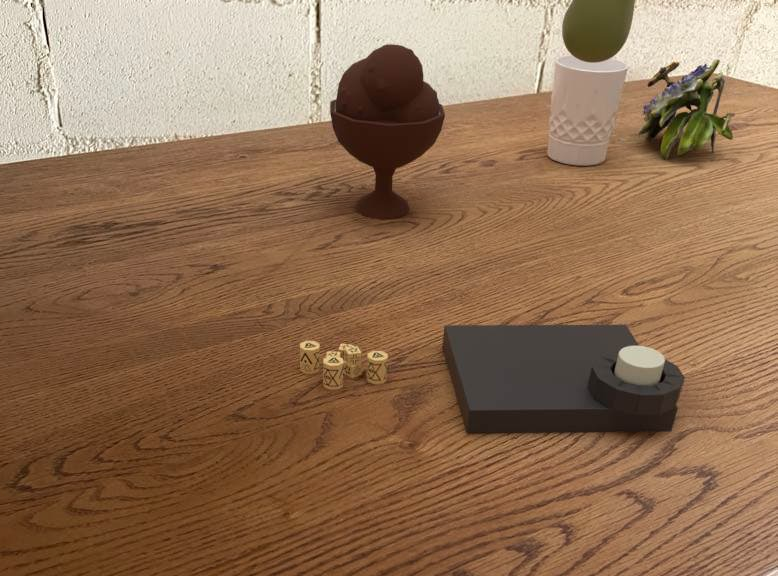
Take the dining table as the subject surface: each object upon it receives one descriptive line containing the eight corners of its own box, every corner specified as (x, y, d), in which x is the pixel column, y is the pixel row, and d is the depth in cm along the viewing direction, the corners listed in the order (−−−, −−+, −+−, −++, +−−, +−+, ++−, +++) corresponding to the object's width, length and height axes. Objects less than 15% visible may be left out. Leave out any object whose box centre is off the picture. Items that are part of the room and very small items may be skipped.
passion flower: (641, 185, 117) (654, 88, 116) (732, 183, 113) (746, 82, 112) (627, 151, 107) (641, 45, 106) (728, 148, 102) (743, 36, 102)
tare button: (651, 365, 63) (656, 345, 62) (665, 388, 61) (671, 367, 60) (608, 365, 63) (613, 345, 62) (621, 388, 61) (626, 367, 60)
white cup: (527, 154, 108) (540, 59, 101) (570, 142, 112) (585, 50, 105) (581, 172, 103) (598, 75, 97) (623, 159, 107) (642, 65, 101)
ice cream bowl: (456, 205, 94) (472, 41, 84) (396, 238, 87) (406, 62, 77) (370, 182, 98) (375, 23, 89) (306, 212, 91) (304, 42, 82)
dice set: (390, 382, 66) (392, 358, 65) (327, 398, 64) (327, 374, 63) (356, 351, 70) (357, 327, 68) (295, 366, 67) (294, 342, 66)
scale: (626, 346, 72) (636, 304, 69) (682, 439, 62) (696, 393, 60) (442, 347, 70) (446, 304, 68) (469, 442, 61) (474, 396, 58)
